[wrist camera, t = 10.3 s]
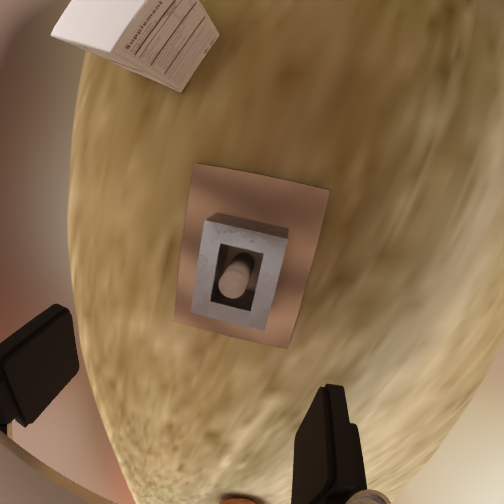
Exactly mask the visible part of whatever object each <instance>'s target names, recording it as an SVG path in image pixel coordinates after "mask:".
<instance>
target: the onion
mask: <svg viewBox="0 0 504 504" xmlns="http://www.w3.org/2000/svg"><path fill="white" fill-rule="evenodd" d="M220 504H256V503H255V502H253V501H251V500H248V499H245V498H233V499H227V500H225V501H223V502H221V503H220Z"/></svg>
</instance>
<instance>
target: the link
mask: <svg viewBox="0 0 504 504" xmlns="http://www.w3.org/2000/svg"><path fill="white" fill-rule="evenodd" d="M288 233H289V229H288V228H284V227H280V226H275V225H271V224H267V223H262V222H258V221H254V220H249V219H245V218H240V217H236V216H231V215H227V214H222V213H216V214H214V215H212V216H210V217H209V218H207V219H205V220H204V226H203V232H202V238H201V245H200V251H199V258H198V264H197V271H196V278H195V285H194V292H193V299H192V307H191V312H192V313H196V314H199V315H203V316H207V317H210V318H214V319H218V320H222V321H225V322H229V323H233V324H237V325H241V326H245V327H249V328H254V329H258V330H262V331H265V328H266V324H267V320H268V317H269V313H270V309H271V305H272V301H273V298H274V294H275V290H276V286H277V282H278V278H279V274H280V270H281V266H282V262H283V258H284V254H285V250H286V246H287V242H288ZM228 245H230V246H234V247H238V248H242V249H247V250H251V251H255V252H259V253H264V256H263V260H262V264H261V269H260V273H259V277H258V282H257V286H256V291H255V292H254V291H249V290H245V291H244V293H243V294H242V295H241V296H240V297H238V298H228V297H226V296H224V295H223V294H222V293H221V291H220V289H219V280H220V278H221V277H222V275H223V270H224V265H225V259H226V254H227V248H228Z"/></svg>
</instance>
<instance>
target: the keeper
mask: <svg viewBox="0 0 504 504" xmlns="http://www.w3.org/2000/svg"><path fill="white" fill-rule="evenodd" d="M329 193H330V190H327V189H323V188H319V187H315V186H311V185H306V184H302V183H298V182H293V181H289V180H284V179H279V178H275V177H270V176H265V175H260V174H255V173H250V172H245V171H239V170H234V169H228V168H223V167H217V166H211V165H205V164H199V163H194V167H193V173H192V179H191V185H190V191H189V198H188V204H187V211H186V218H185V225H184V232H183V240H182V248H181V256H180V264H179V273H178V282H177V292H176V303H175V314H174V321H175V322H178V323H182V324H185V325H189V326H192V327H196V328H200V329H203V330H207V331H211V332H215V333H219V334H223V335H226V336H230V337H235V338H239V339H243V340H247V341H251V342H256V343H260V344H265V345H269V346H274V347H279V348H283V349H287V348H288V345H289V342H290V339H291V336H292V332H293V329H294V326H295V322H296V319H297V316H298V312H299V309H300V305H301V302H302V299H303V295H304V291H305V288H306V284H307V281H308V277H309V273H310V270H311V266H312V262H313V258H314V255H315V251H316V247H317V243H318V239H319V235H320V231H321V227H322V223H323V219H324V215H325V210H326V206H327V202H328V198H329ZM216 213H222V214H227V215H231V216H236V217H240V218H245V219H249V220H254V221H258V222H262V223H267V224H271V225H275V226H280V227H284V228H288V229H289V233H288V242H287V246H286V250H285V254H284V258H283V262H282V266H281V270H280V274H279V278H278V282H277V286H276V290H275V294H274V298H273V301H272V305H271V309H270V313H269V317H268V320H267V324H266V328H265V331H262V330H258V329H254V328H249V327H245V326H241V325H237V324H233V323H229V322H225V321H222V320H218V319H214V318H210V317H207V316H203V315H199V314H196V313H192V312H191V307H192V299H193V292H194V285H195V278H196V271H197V264H198V258H199V251H200V245H201V238H202V232H203V226H204V220H205V219H207V218H209V217H210V216H212V215H214V214H216ZM263 256H264V253H259V252H255V251H251V250H247V249H242V248H238V247H234V246H230V245H228V248H227V254H226V259H225V265H224V270H223V275H222V277H221V278H220V280H219V289H220V291H221V293H222V294H223V295H224V296H226V297H228V298H238V297H240V296H241V295H242V294H243V293H244V291H245V290H249V291H254V292H255V291H256V286H257V282H258V277H259V273H260V269H261V264H262V260H263Z"/></svg>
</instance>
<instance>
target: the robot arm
mask: <svg viewBox="0 0 504 504" xmlns="http://www.w3.org/2000/svg"><path fill="white" fill-rule="evenodd" d="M78 370H79V361H78V355H77V350H76V343H75V336H74V329H73V321H72V315H71V314H70V311H69V309H67V308H66V307H63V306H61V305H59V304H54V305H52V306H51V307H49V308H48V309H46V310H45V311H43V312H42V313H41V314H39V315H38V316H36V317H35V318H34V319H32V320H31V321H30V322H28V323H27V324H25V325H24V326H23V327H22V328H20V329H19V330H17V331H16V332H15V333H13V334H12V335H11V336H9V337H8V338H7V339H5V340H4V341H3V342H1V343H0V504H117V503H114V502H112V501H110V500H108V499H106V498H104V497H102V496H100V495H98V494H96V493H94V492H92V491H90V490H88V489H86V488H84V487H82V486H81V485H79V484H77V483H75V482H73V481H71V480H70V479H68V478H66V477H65V476H63V475H62V474H60V473H58V472H56V471H55V470H53V469H52V468H50V467H48V466H47V465H46V464H44V463H43V462H41V461H40V460H38V459H37V458H35V457H34V456H32V455H31V454H30V453H28V452H27V451H26V450H24V449H23V448H22V447H20V446H19V445H18V444H16V443H15V442H14V441H13V440H12V420H13V419H14V418H15V420H16V421H17V422H18V423H19V424H21V425H22V426H23V427H26V426H27V425H28V424H29V423H30V424H31V423H33V422H34V421H35V420H36V419H37V418H38V416H39V415H40V414H41V413H42V412H43V411H44V410H45V408H46V407H47V406H48V405H49V404H50V403H51V402H52V400H53V399H54V398H55V397H56V396H57V395H58V394H59V392H60V391H61V390H62V389H63V388H64V387H65V386H66V385H67V384H68V382H69V381H70V380H71V379H72V378H73V377H74V376H75V375H76V374H77V372H78ZM291 504H391V502H390V501H389V499H388V498H387V497H386V496H385V495H384V494H383V493H381V492H378V491H376V490H367V484H366V477H365V469H364V463H363V456H362V450H361V443H360V437H359V432H358V427H357V425H356V424H353V423H350V421H349V415H348V409H347V403H346V397H345V391H344V387H343V386H340V385H333V384H326V385H325V387H320V388H319V389H318V391H317V393H316V395H315V397H314V400H313V402H312V404H311V406H310V408H309V410H308V412H307V414H306V416H305V417H304V419H303V421H302V423H301V425H300V427H299V429H298V431H297V433H296V436H295V441H294V464H293V482H292V498H291Z"/></svg>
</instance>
